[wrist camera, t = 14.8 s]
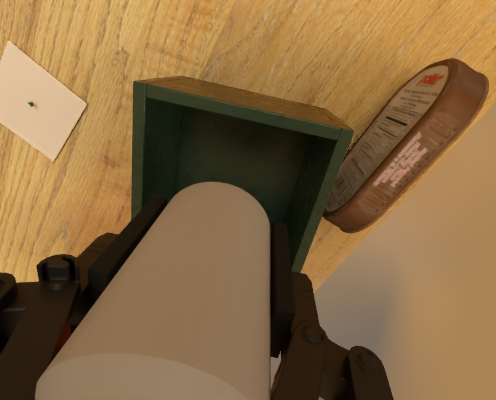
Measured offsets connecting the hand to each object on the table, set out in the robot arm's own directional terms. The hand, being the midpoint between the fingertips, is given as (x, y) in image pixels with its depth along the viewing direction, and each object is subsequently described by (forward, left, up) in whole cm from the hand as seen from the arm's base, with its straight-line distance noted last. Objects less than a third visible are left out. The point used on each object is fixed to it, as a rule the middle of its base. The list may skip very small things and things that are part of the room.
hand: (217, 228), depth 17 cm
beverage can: (0, 0, -1) cm, 1 cm away
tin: (-12, -5, -13) cm, 18 cm away
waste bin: (0, 0, -13) cm, 13 cm away
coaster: (+21, -1, -13) cm, 25 cm away
